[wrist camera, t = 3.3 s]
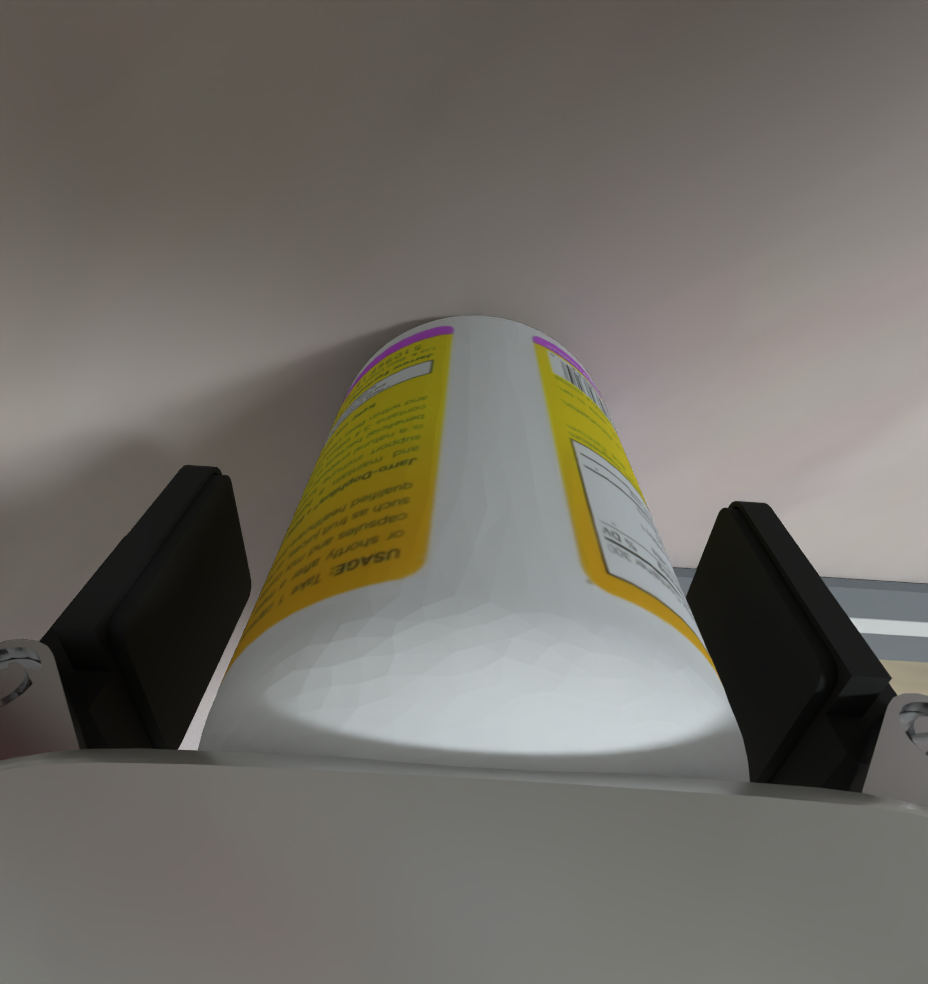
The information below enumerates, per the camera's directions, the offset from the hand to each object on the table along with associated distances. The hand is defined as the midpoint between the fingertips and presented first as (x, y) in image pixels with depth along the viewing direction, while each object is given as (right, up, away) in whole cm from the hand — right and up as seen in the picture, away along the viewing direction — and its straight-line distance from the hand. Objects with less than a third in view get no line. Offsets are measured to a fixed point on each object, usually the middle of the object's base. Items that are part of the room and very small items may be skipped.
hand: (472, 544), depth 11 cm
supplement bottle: (0, +3, +4) cm, 5 cm away
